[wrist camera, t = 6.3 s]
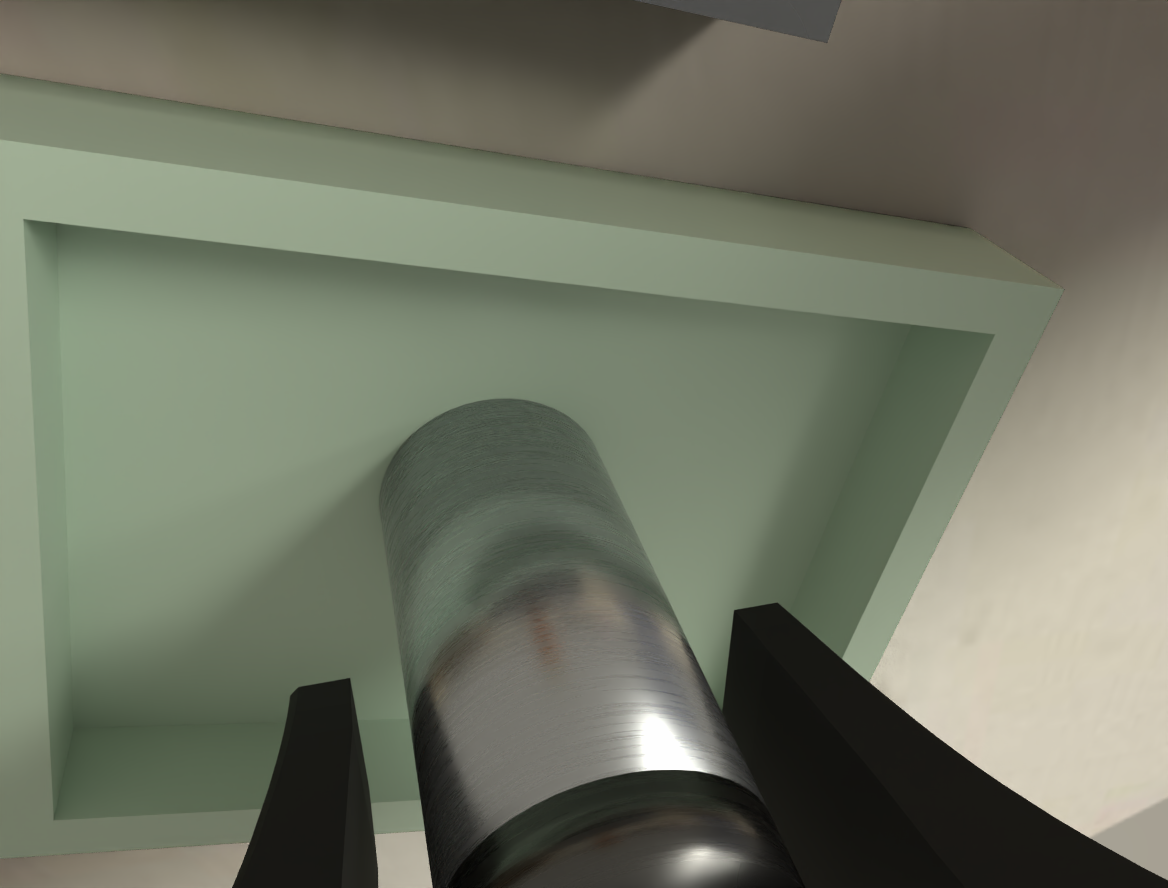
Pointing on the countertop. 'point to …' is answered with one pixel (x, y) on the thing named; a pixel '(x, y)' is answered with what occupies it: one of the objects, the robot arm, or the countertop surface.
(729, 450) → the tray
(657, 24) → the countertop surface
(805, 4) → the hitch block
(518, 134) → the countertop surface
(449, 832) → the pin
